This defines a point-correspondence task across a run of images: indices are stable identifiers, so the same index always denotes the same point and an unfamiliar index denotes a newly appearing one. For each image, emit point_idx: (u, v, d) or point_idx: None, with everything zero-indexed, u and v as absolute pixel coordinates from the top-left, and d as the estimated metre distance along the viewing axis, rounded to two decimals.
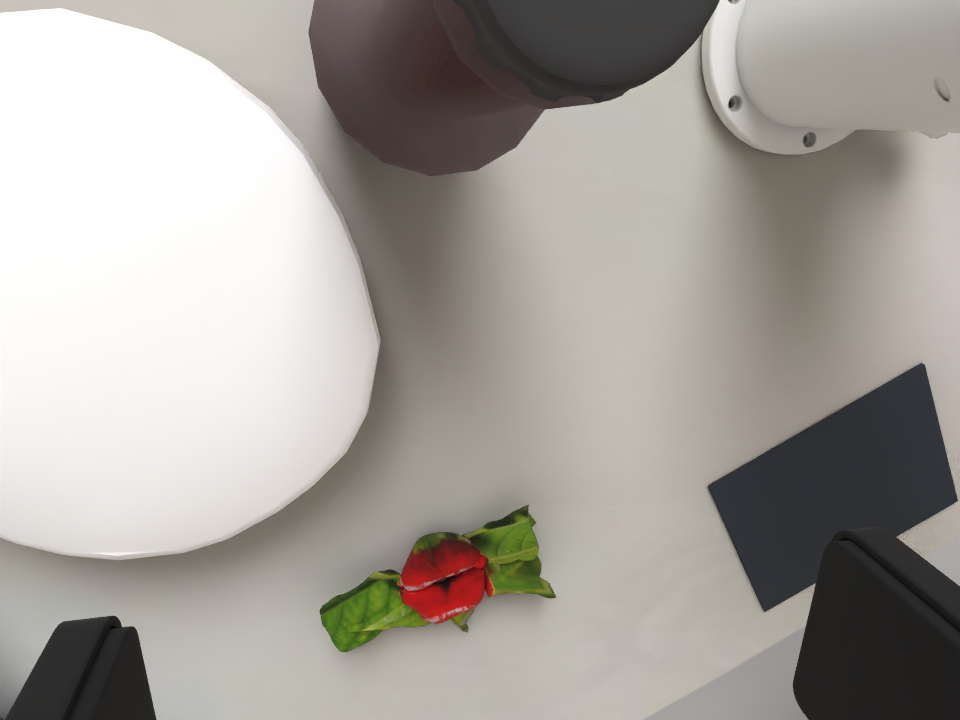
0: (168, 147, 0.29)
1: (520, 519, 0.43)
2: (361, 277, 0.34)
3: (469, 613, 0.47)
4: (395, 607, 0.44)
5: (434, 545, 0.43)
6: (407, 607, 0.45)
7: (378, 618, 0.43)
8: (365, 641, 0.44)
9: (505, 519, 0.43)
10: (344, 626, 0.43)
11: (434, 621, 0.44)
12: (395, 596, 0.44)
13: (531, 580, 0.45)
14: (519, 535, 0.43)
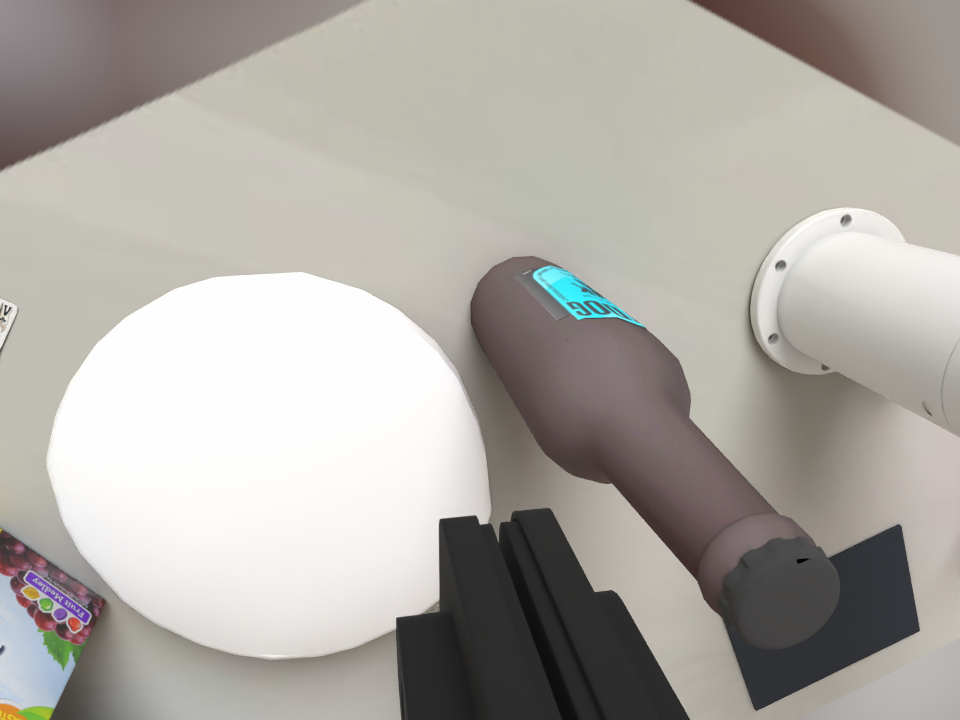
0: (368, 378, 0.40)
1: None
2: (486, 464, 0.45)
3: None
4: None
5: None
6: None
7: None
8: None
9: None
10: None
11: None
12: None
13: None
14: None
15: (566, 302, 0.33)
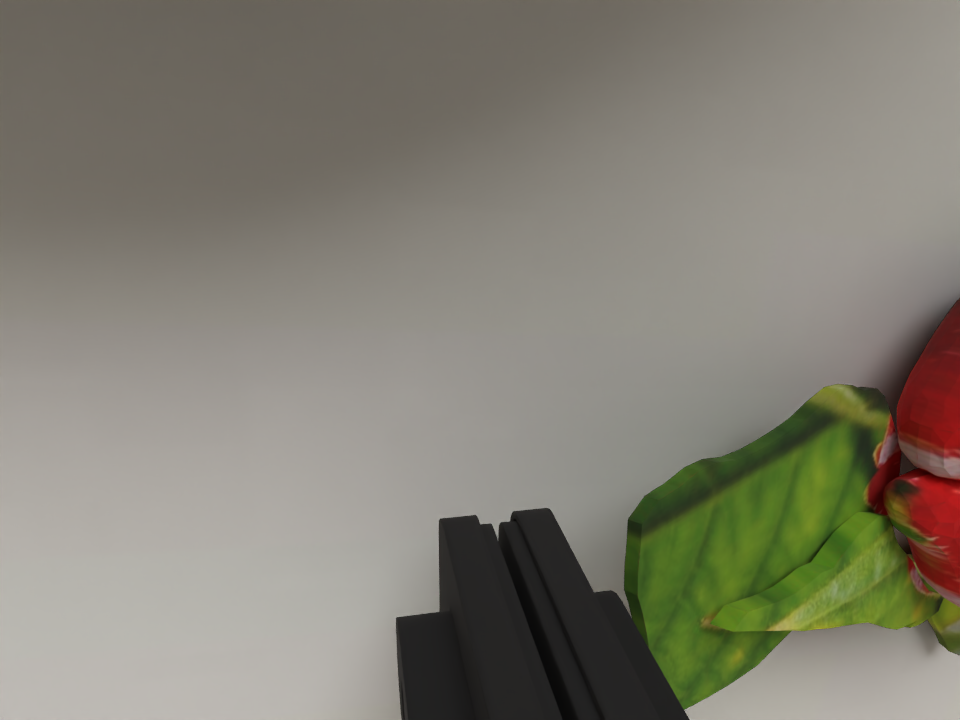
0: None
1: None
2: None
3: None
4: (864, 545, 0.11)
5: None
6: (889, 551, 0.11)
7: (818, 583, 0.10)
8: (738, 673, 0.11)
9: None
10: (698, 605, 0.10)
11: None
12: (854, 503, 0.11)
13: None
14: None
15: None
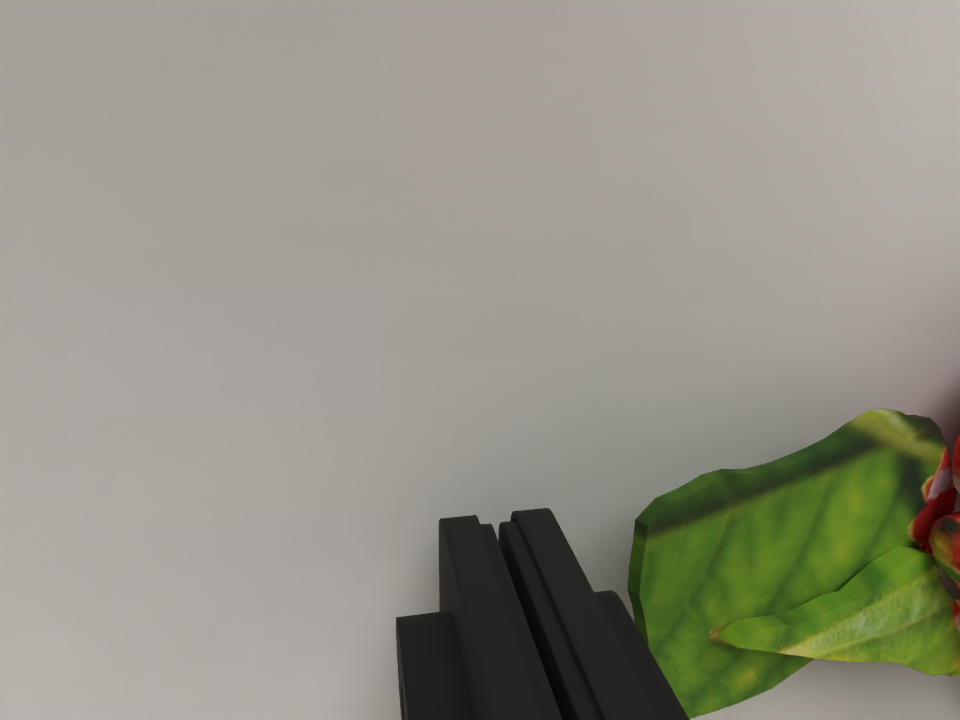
0: None
1: None
2: None
3: None
4: (901, 581, 0.10)
5: None
6: (932, 591, 0.11)
7: (842, 613, 0.10)
8: (748, 692, 0.11)
9: None
10: (707, 615, 0.10)
11: None
12: (896, 536, 0.11)
13: None
14: None
15: None
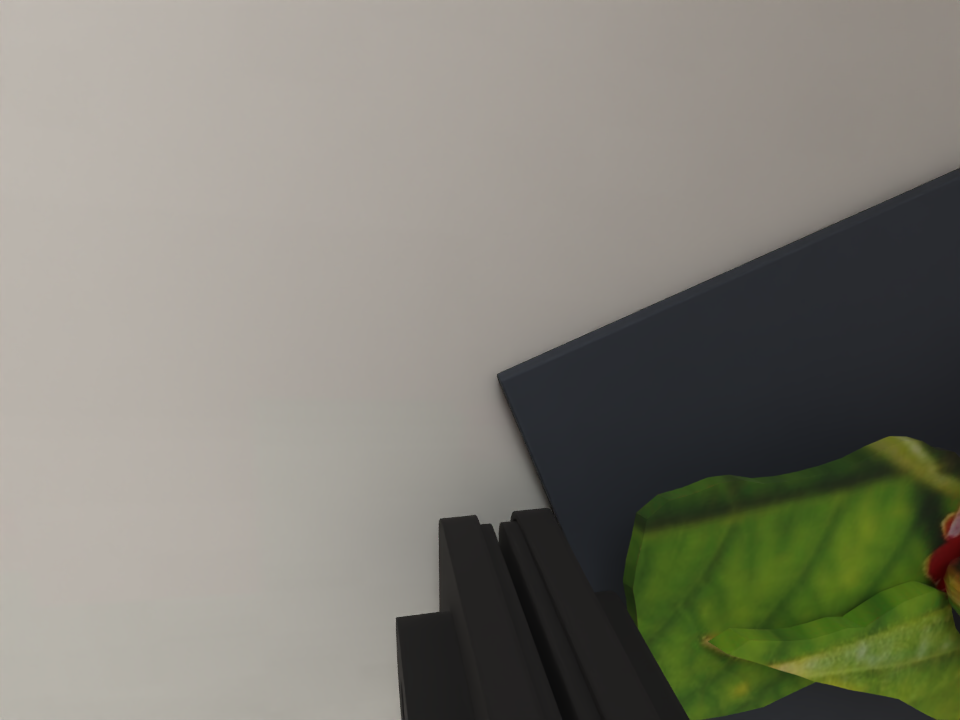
0: None
1: None
2: None
3: None
4: (909, 616, 0.10)
5: None
6: (942, 632, 0.11)
7: (842, 637, 0.10)
8: (739, 706, 0.11)
9: None
10: (701, 620, 0.10)
11: None
12: (910, 570, 0.10)
13: None
14: None
15: None
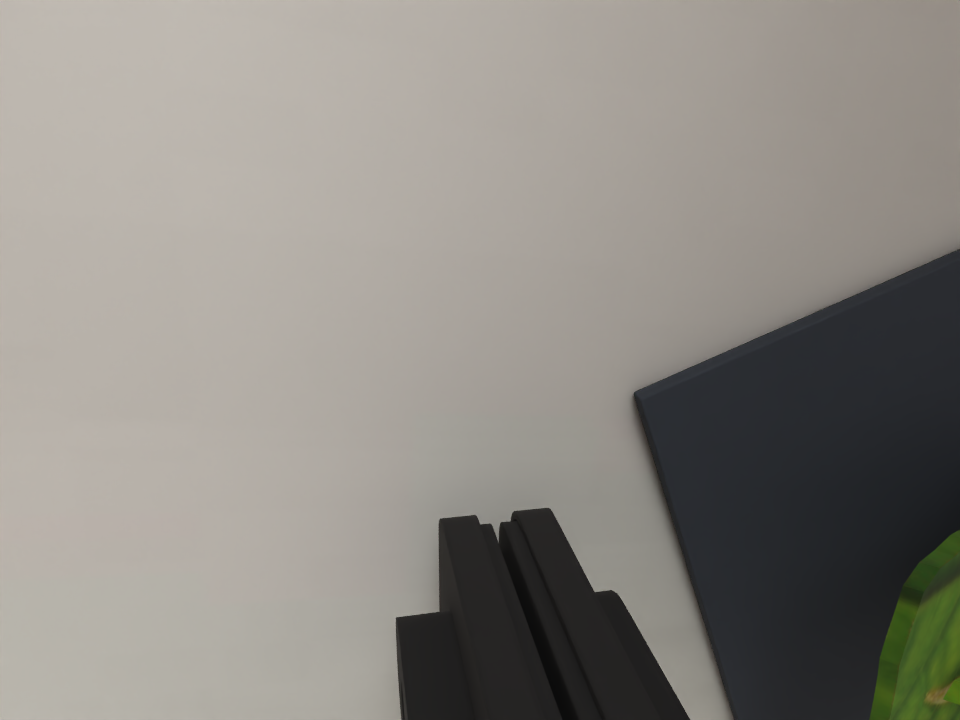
0: None
1: None
2: None
3: None
4: None
5: None
6: None
7: None
8: None
9: None
10: (929, 679, 0.09)
11: None
12: None
13: None
14: None
15: None
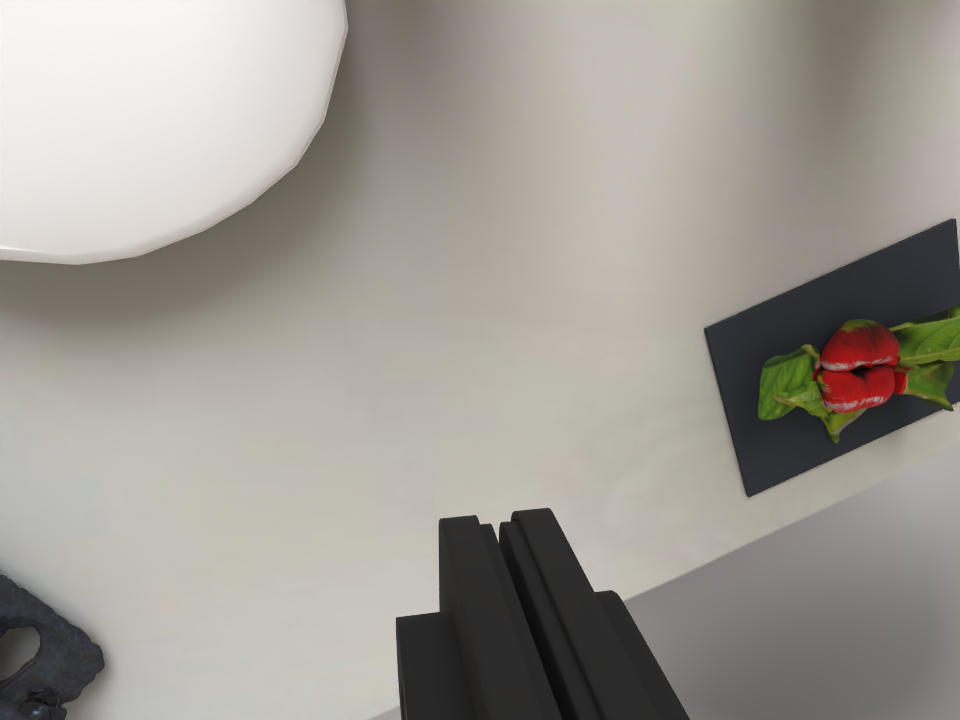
0: None
1: None
2: None
3: (851, 420, 0.46)
4: (811, 387, 0.43)
5: (872, 325, 0.42)
6: (817, 392, 0.43)
7: (799, 392, 0.42)
8: (777, 416, 0.43)
9: (941, 313, 0.43)
10: (773, 391, 0.41)
11: (849, 407, 0.43)
12: (809, 377, 0.43)
13: (939, 386, 0.44)
14: (952, 332, 0.43)
15: None
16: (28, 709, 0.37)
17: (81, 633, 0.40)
